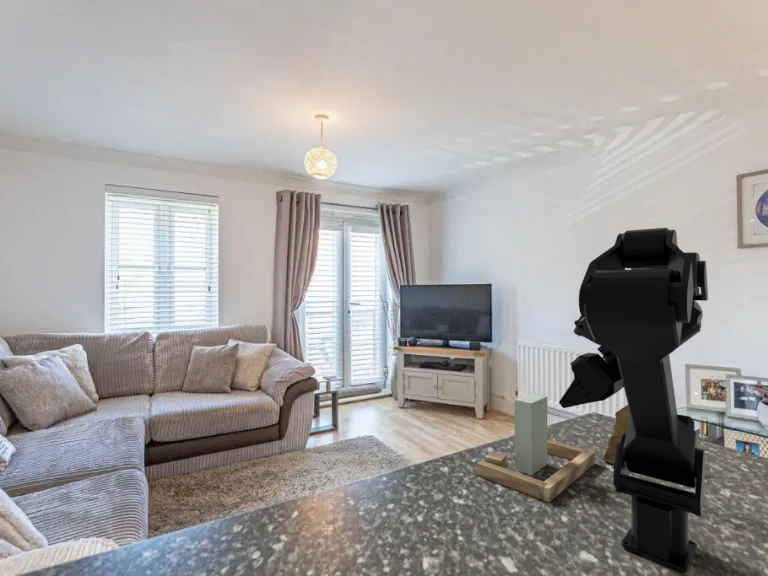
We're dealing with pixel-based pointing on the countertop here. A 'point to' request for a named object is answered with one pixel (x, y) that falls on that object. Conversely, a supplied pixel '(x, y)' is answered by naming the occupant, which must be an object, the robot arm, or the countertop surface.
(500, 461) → the offcut stack
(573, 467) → the wooden u-shaped frame
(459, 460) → the countertop surface
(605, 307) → the robot arm
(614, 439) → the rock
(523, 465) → the pale green rectangular pillar
